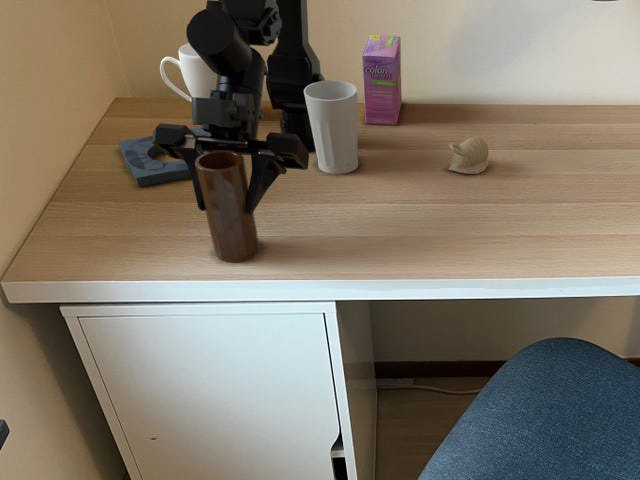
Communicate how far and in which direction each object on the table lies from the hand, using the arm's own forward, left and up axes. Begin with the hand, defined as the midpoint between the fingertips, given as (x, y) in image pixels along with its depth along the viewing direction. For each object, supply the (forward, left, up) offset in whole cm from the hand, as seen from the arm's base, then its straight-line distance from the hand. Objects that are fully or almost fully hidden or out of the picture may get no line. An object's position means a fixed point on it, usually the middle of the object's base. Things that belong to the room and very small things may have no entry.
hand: (224, 212), depth 99 cm
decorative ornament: (-41, -9, -7) cm, 42 cm away
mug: (-9, -47, -7) cm, 48 cm away
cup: (-23, -19, -7) cm, 30 cm away
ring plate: (0, -32, -7) cm, 33 cm away
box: (-38, -35, -7) cm, 52 cm away
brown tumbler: (-1, -1, -7) cm, 7 cm away
